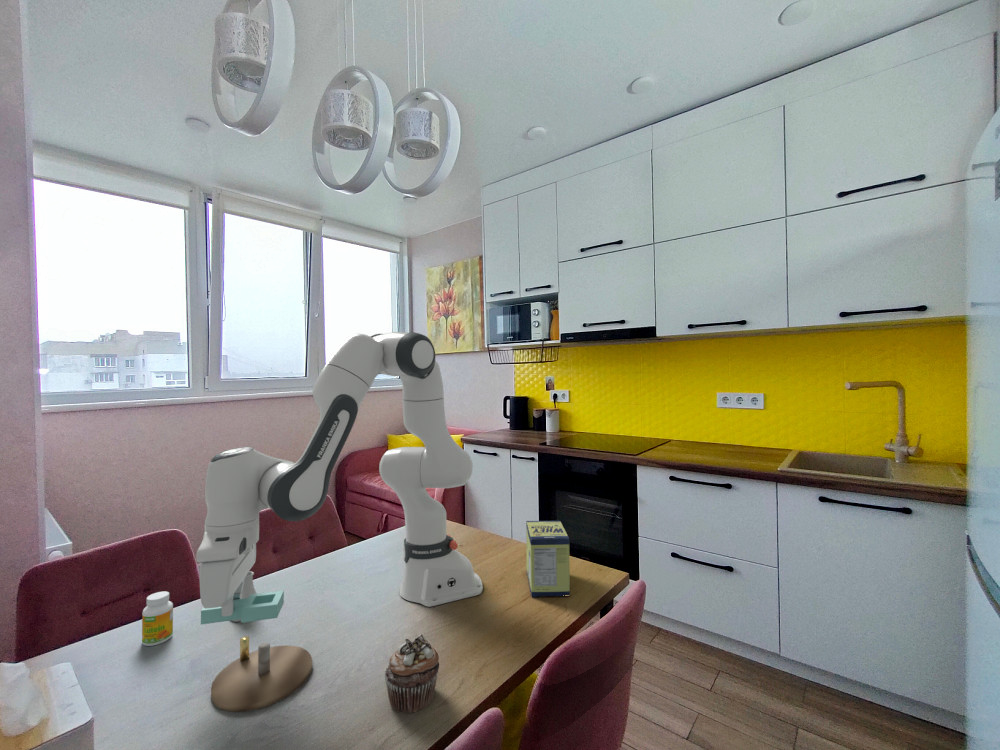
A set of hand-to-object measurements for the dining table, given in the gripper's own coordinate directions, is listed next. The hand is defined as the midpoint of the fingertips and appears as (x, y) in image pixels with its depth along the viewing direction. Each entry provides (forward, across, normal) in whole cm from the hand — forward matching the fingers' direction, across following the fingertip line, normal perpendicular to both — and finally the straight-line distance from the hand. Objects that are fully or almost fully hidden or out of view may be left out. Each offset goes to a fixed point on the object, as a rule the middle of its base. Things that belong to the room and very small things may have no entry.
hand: (232, 608), depth 82 cm
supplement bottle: (+14, -21, -20) cm, 33 cm away
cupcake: (+14, +13, +32) cm, 38 cm away
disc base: (+14, 0, +6) cm, 15 cm away
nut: (+2, 0, +2) cm, 2 cm away
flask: (+14, -27, -4) cm, 31 cm away
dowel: (+13, -6, +1) cm, 14 cm away
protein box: (+14, -21, +72) cm, 77 cm away
